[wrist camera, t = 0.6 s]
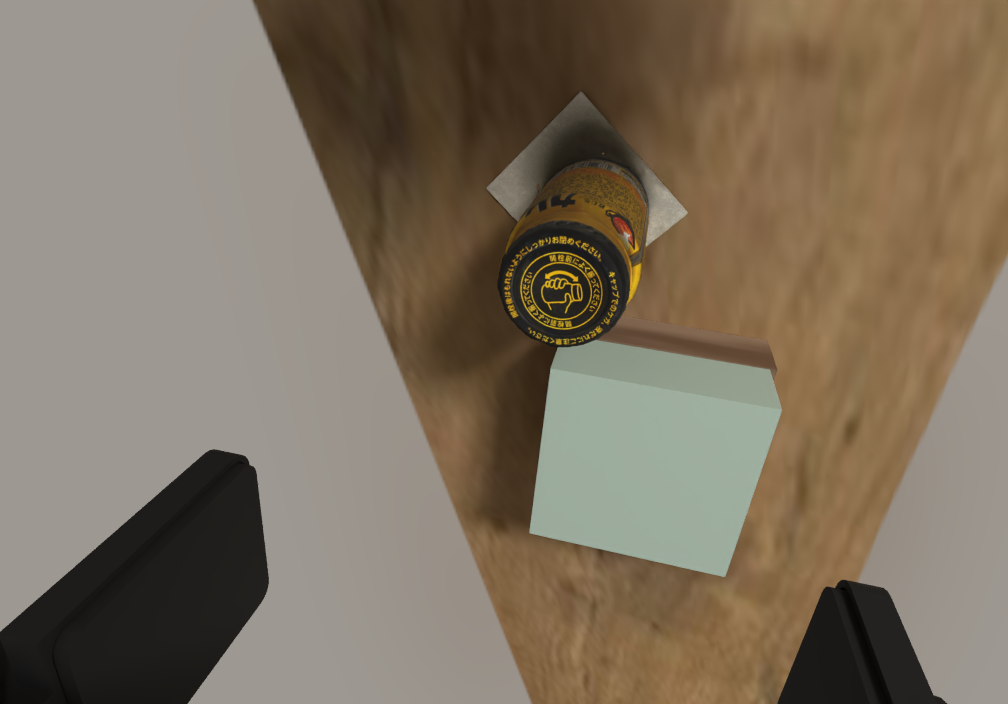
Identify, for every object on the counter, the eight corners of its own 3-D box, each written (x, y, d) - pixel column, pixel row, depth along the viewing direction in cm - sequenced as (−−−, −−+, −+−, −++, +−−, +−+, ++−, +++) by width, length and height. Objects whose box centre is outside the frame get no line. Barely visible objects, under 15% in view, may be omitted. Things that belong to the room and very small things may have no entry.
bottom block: (577, 305, 38) (568, 333, 35) (766, 337, 36) (777, 369, 33) (555, 451, 43) (545, 488, 40) (719, 485, 42) (724, 527, 38)
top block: (562, 334, 35) (550, 368, 31) (770, 369, 33) (782, 409, 30) (541, 489, 40) (529, 533, 37) (719, 527, 38) (725, 577, 35)
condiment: (587, 294, 37) (555, 397, 27) (486, 187, 36) (411, 252, 25) (688, 211, 34) (696, 293, 23) (582, 90, 32) (540, 119, 22)
